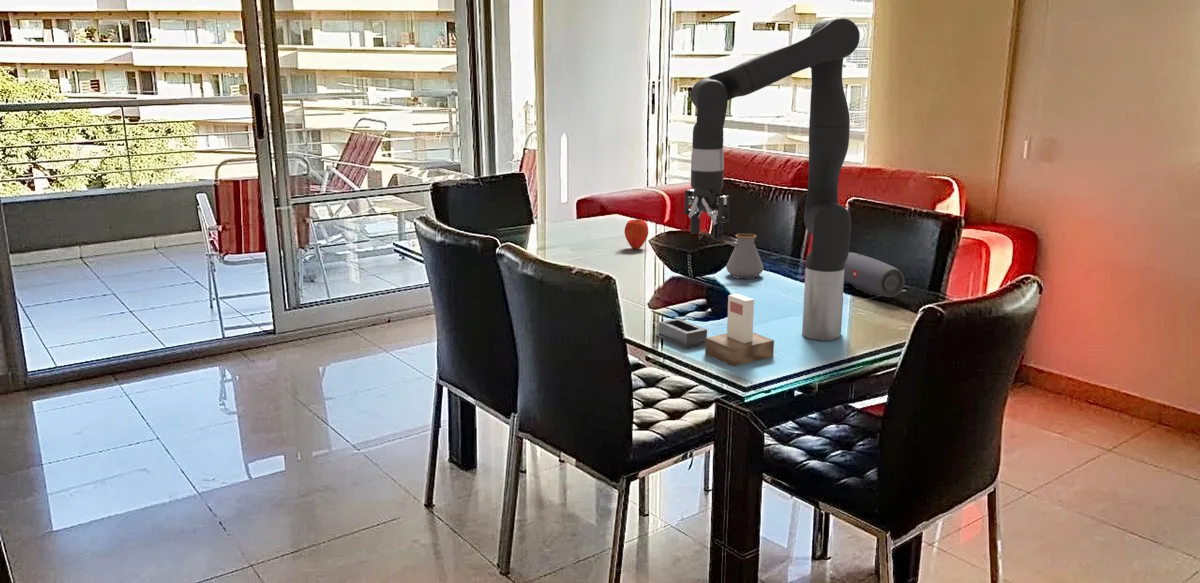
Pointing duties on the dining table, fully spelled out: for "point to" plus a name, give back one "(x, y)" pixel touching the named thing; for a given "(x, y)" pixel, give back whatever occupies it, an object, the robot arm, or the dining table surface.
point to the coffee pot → (743, 256)
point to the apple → (636, 233)
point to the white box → (740, 318)
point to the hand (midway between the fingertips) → (705, 236)
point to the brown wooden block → (739, 349)
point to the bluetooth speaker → (873, 275)
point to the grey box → (682, 333)
